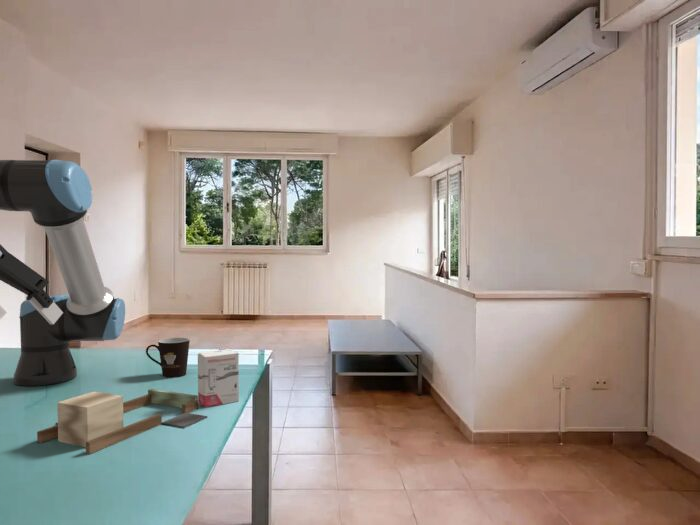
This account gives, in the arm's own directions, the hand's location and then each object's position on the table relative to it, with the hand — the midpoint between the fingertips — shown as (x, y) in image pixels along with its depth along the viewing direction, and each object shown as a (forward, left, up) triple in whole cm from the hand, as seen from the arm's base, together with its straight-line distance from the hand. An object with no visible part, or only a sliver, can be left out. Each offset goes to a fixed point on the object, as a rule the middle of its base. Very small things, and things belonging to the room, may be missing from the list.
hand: (28, 318), depth 91 cm
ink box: (+12, +38, -24) cm, 46 cm away
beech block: (+4, +10, -24) cm, 26 cm away
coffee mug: (-18, +54, -24) cm, 62 cm away
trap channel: (+4, +18, -24) cm, 30 cm away
